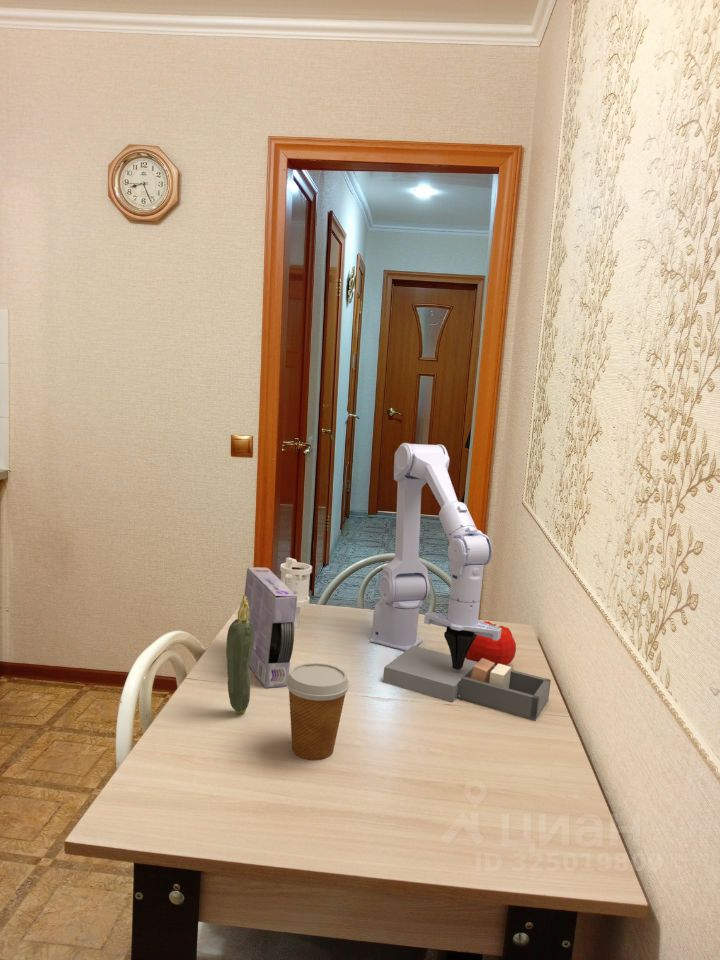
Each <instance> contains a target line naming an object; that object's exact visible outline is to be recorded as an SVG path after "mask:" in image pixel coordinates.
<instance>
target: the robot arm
mask: <svg viewBox="0 0 720 960" xmlns="http://www.w3.org/2000/svg"><path fill="white" fill-rule="evenodd" d="M393 458H394V461H393V462H394V463H393V464H394V465H393V480H394V481H395V482H397V494H396V518H395V519H396V522H395V546H394V548H395V549H394V550H395V551H394V558H393V559H392V560H391V561H389V562H388V563H386V564H385V565H384V566H383V567H382V573H381V577H380V581H379V585H378V588H379V589H378V590H379V594H380V599H379V600H378V601H377V602H376V604H375V606H374V609H373V615H372V625H371V626H372V627H371V628H372V629H371V637H370V638H369V642H371V643H374V644H379V645H383V646H387V647H390V648H394V649H397V650H402V651H403V652H405V651H406V650H408V649H409V648H411V647H412V646H413V645H414V646H417V647H418V645H420V644H422V643H423V641H424V640H423V638H419V637H417V635H418V626H419V624H418V623H419V617H420V615H419V614H420V607H421V606H423V603H424V602H425V601H426V600H427V599H428V598H429V597H428V596H429V595H430V592H431V586H430V580H429V569H428V568H427V567H426V565H424V564H423V563H422V562H421V561H420V560H419V555H420V534H421V533H420V532H421V510H422V507H421V506H422V488H423V487H424V486H425V485H426V484H427V485H428V486H429V488H430V490H431V492H432V494H433V495H434V498H435V499H436V500H437V502H438V505H439V506H440V511H439V513H438V519H439V521H440V522H441V525H442V528H443V530H444V532H445V534H446V537H447V539H448V542H449V545H448V546H447V556H448V559H449V572H450V573H451V580H450V588H449V589H450V590H449V599H448V609H447V613H443V612H442V613H440V612H434V611H427V612H426V613H424V620H423V623H424V624H425V625H435V626H439V627H443V628H446V630H445V632H444V633H443V635H444V639H445V641H446V644H447V646H448V648H449V653H450V655H451V658H452V666H453V668H454V669H457V670H460V669H461V668H462V667H463V664H464V660H465V659H466V658H465V657H466V655H467V652H468V650H469V648H470V646H471V645H472V643H473V641H474V640H475V638H476V637H477V635H480V636H484V637H488V638H492V640H495V641H498V640H499V639H500V637H501V628H499V626H492V625H489V624H487V623H484V622H485V621H481V620H479V614H480V607H481V606H480V605H481V599H482V598H481V596H482V587H483V578H484V569H485V566H487V565H488V564H489V563H490V562H491V559H492V556H493V547H492V543H491V540H490V538H489V536H488V535H486V533H485V534H484V533H483V532H482V530H478V528H477V526H476V524H475V521H474V520H473V518H472V515H471V513H470V511H469V509H468V506H467V504H466V503H464V502H462V501H459V500H458V497H457V495H456V492H455V489H454V485H453V484H452V481H451V477H450V474H449V472H448V470H449V466H450V456H449V453H448V451H447V449H446V447H445V445H444V444H439V443H438V444H421V443H419V444H418V443H409V442H403V443H401V444H400V445H399V446H398V448H397V449H396V450H395V452H394V457H393Z"/></svg>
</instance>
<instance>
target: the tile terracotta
mask: <svg viewBox="0 0 720 960" xmlns="http://www.w3.org/2000/svg"><path fill="white" fill-rule="evenodd" d="M494 664H495V663H493V662H491V661H489V660H486V659H484V658H482V659H481V660H480V661H479V662H478V663H477V664H476V665H475V666H474V668H473V672H472V676H471V679H475V680H479V681H482V682H486V683H489V681H490V672H491V671H492V670H493V668H494Z"/></svg>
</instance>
